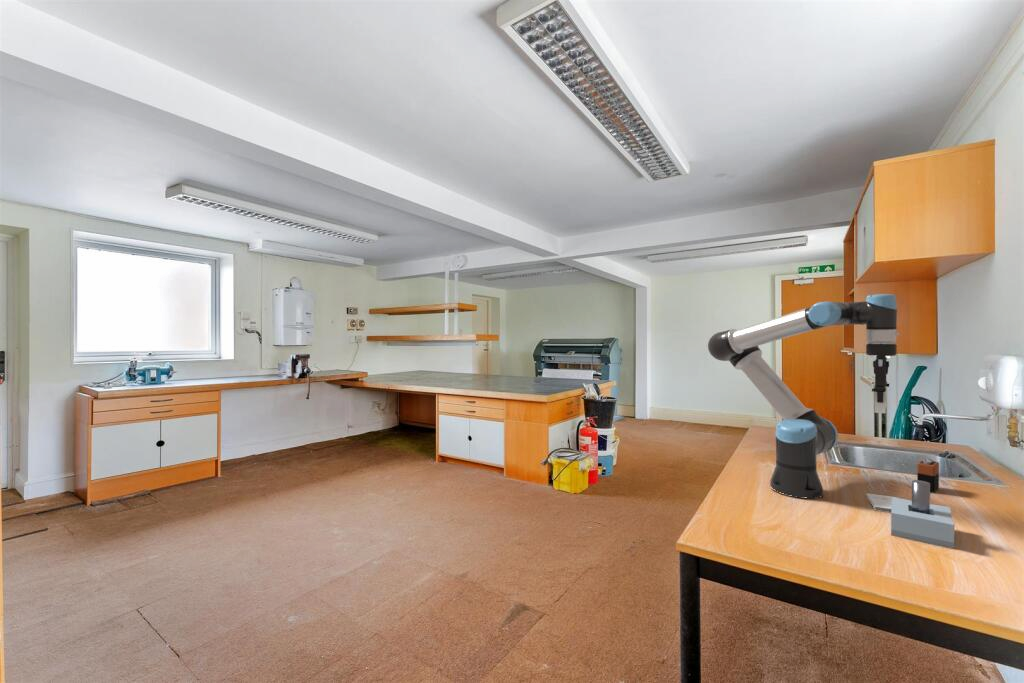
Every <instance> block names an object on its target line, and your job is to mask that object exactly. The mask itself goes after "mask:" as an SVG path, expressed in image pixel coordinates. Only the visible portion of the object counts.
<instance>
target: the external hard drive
mask: <svg viewBox="0 0 1024 683" xmlns="http://www.w3.org/2000/svg"><path fill="white" fill-rule="evenodd" d="M865 496H866V498H867V500H868V499H869V500H868V501H870V502H869V503H870V505H871V504H872V505H871V506H873V507H872V509H873V510H874V509H876V510H875V511H878V510H881V511H880V512H885V511H889V512H888V513H891V508H892V497H894V498H898V496H891V495H890V496H889V495H882V494H877V493H876V494H874V493H866V495H865Z"/></svg>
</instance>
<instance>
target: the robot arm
mask: <svg viewBox="0 0 1024 683" xmlns="http://www.w3.org/2000/svg"><path fill="white" fill-rule="evenodd" d="M897 319H898V304H897V296H896V295H895V294H892V293H881V294H869V295H867V296H866V299H865V300H863V301H854V302H853V301H848V302H847V301H846V302H844V301H843V302H842V301H840V302H839V301H829V300H827V301H825V300H823V301H820V302H816V303H814V304H813V305H812V306H809V307H806V308H803V309H799V310H796V311H793V312H790V313H787V314H784V315H781V316H777V317H775V318H772V319H768V320H765V321H762V322H758V323H755V324H752V325H749V326H746V327H743V328H740V329H736V328H730V329H729V330H728V329H727V330H724V331H718V332H716V333H714V334H713V335H712V336H711V337H710V338H709V340H708V343H707V349H708V352H709V354H710V355H711V356H712V357H713V358H714V359H716V360H718V361H721V362H729V363H730V364H731V365H732V366H733V367H734V369H736V370H740V371H742V372H743V373H744V374H745V376H746V377H747V378H748V379H749V381H750V382H751V383H752V384H753V385H754V386H755V388H756V389H757V390H758V391H759V393H761V394H762V397H764V398H765V400H766V401H767V402H768V403H769V404H770V405H771V406H772V408H773V409H774V411H776V413H777V414H778V415H779V416H780V418H782V420H781V421H779V422H778V423H776V427H775V467H774V470H773V472H772V476H771V478H770V482H769V486H771V487H772V488H773V489H775V490H776V491H778V492H781V493H784V494H787V495H792V496H797V497H807V498H806V499H809V498H810V499H816V498H815V497H819V498H821V497H823V496H824V488H823V485H822V482H821V479H820V477H819V474H818V471H817V455H820V454H822V453H826V452H828V451H830V450H832V449H833V448H834V447H835V446H836V444H837V443H838V440H839V433H838V432H839V431H838V430H837V427H836V426H835V424H833V423H832V422H831V421H830V420H828V419H827V418H823V417H821V416H820V415H819V414H818V413H817V412H816V410H814V408H808V407H806V406H805V405H804V404H803V403H802V401H800V399H799V398H798V397H797V395H796V394H794V392H793V391H792V390H791V389H790V388H789V386H787V384H786V383H785V382H784V381H783V380H782V378H781V377H780V376H779V375H778V374H777V373H776V372H775V371H774V370H773V369H772V367H771V366H770V365H769V364H768V363H767V362H766V361H765V360H764V358H763V357H762V354H763V351H762V350H761V349H760V348H759V346H761V345H765V344H768V343H772V342H775V341H779V340H783V339H786V338H790V337H794V336H797V335H801V334H804V333H807V332H811V331H815V330H818V329H822V328H827V327H830V326H850V325H851V326H852V325H853V326H854V325H857V326H858V325H862V326H863V325H865V326H866V328H865V342H867V343H866V345H865V347H866V348H865V354H866V355H867V356H872V357H873V356H875V360H873V361H872V367H873V374H874V387H873V388H871V392H873V393H874V400H873V401H874V408H873V409H874V411H873V412H874V413H877V414H886V413H887V407H888V388H890V383H888V381H887V375H888V373H889V367H890V361H889V360H888V359H887V357H893V356H897V354H898V351H897V350H898V349H897V348H898V347H897V346H898V344H896V342H897V336H900V333H899V332H897V324H898V320H897ZM887 360H888V361H887ZM778 492H777V493H778ZM787 495H786V496H787ZM820 496H821V497H820ZM797 497H796V498H797Z"/></svg>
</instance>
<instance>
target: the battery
mask: <svg viewBox="0 0 1024 683" xmlns="http://www.w3.org/2000/svg"><path fill="white" fill-rule="evenodd" d="M916 468H917V474H916V475H917V480H920V481H925V482H928V483H930V493H932V492H933V493H936V491H937V490H939V488H940V484H939V483H940V482H939V481H940V472H939V471H940V463H939V462H938V461H935V460H933V458H926V459H921V460H920V461H919V462H918V463H917V467H916Z"/></svg>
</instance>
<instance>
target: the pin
mask: <svg viewBox="0 0 1024 683" xmlns="http://www.w3.org/2000/svg"><path fill="white" fill-rule="evenodd" d="M911 501H912V511H913V512H918V513H924V514H929V515H930V504H931V492H930V483H928V482H925V481H920V480H916V479H913V480H911Z"/></svg>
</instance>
